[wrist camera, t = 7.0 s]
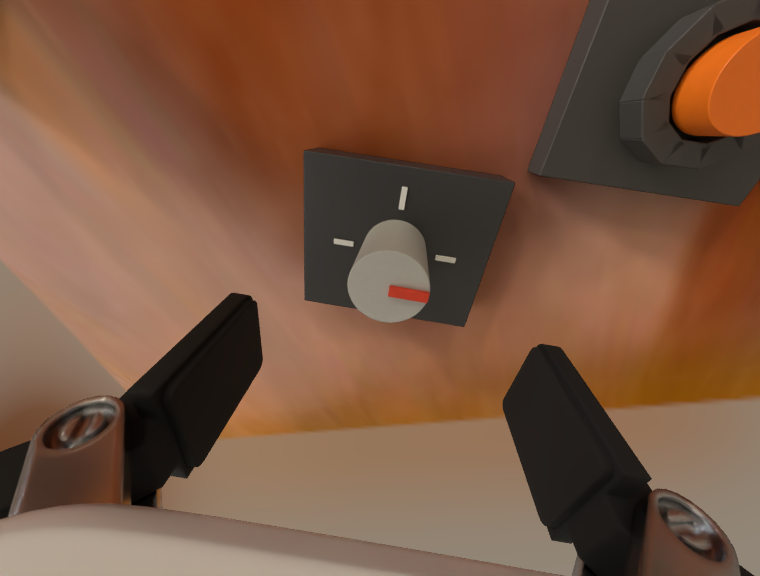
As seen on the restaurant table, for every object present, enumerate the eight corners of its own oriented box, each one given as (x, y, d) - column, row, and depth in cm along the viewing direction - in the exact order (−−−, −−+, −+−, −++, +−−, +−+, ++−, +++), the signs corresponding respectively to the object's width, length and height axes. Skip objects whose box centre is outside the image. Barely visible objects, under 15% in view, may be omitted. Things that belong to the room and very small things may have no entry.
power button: (652, 129, 14) (686, 129, 13) (708, 26, 12) (758, 8, 11) (732, 141, 14) (778, 142, 12) (802, 38, 12) (867, 23, 10)
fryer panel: (315, 282, 25) (303, 301, 22) (317, 147, 20) (302, 150, 17) (459, 306, 25) (464, 328, 22) (502, 175, 19) (516, 183, 17)
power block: (526, 171, 19) (552, 180, 16) (604, -42, 14) (667, -98, 11) (706, 198, 19) (772, 214, 15) (850, -9, 14) (999, -56, 10)
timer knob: (360, 272, 21) (342, 318, 16) (367, 214, 19) (349, 245, 14) (418, 283, 21) (420, 332, 16) (432, 225, 18) (439, 261, 13)
